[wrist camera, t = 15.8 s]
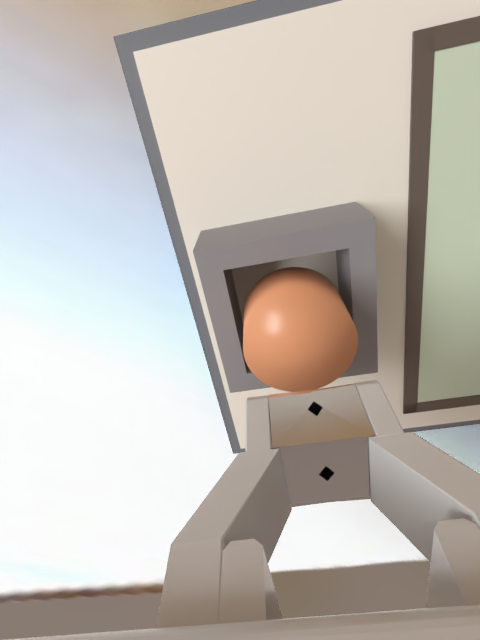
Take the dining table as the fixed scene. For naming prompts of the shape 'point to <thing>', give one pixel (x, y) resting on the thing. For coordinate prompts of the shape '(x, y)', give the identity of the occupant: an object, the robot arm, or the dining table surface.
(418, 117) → the cream board with holder
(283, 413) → the robot arm
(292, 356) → the button
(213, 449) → the dining table surface
